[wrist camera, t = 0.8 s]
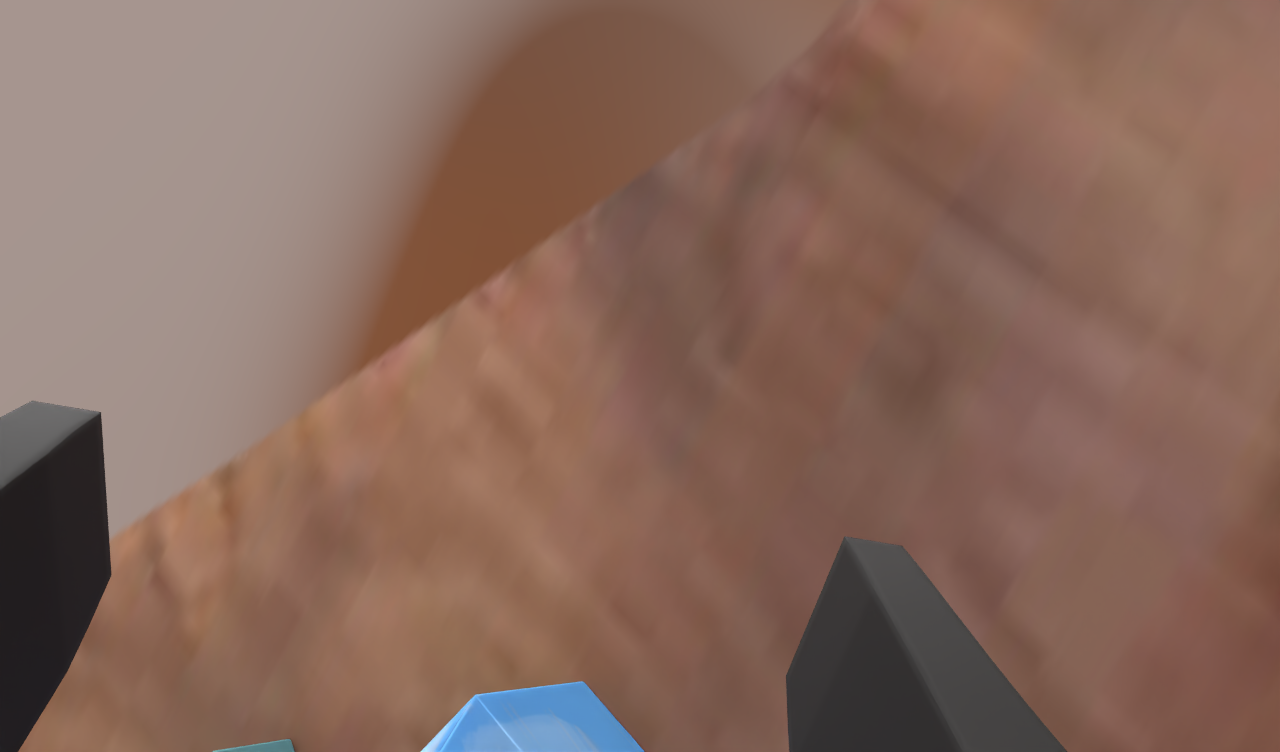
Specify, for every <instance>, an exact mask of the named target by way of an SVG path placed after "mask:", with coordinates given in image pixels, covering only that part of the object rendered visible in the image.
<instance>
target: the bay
mask: <svg viewBox="0 0 1280 752" xmlns="http://www.w3.org/2000/svg"><path fill="white" fill-rule="evenodd" d="M213 752H295V751H294V748H293V745H292V742H291V740H290V739H286V740H279V741H273V742H267V743H260V744H254V745H248V746H241V747H235V748H229V749H223V750H216V751H213Z"/></svg>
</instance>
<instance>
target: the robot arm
mask: <svg viewBox="0 0 1280 752" xmlns="http://www.w3.org/2000/svg"><path fill="white" fill-rule="evenodd" d="M101 423H102V422H101V412H96V411H90V410H84V409H78V408H72V407H66V406H60V405H54V404H48V403H42V402H36V401H31V402H29V403H27V404H25V405H23V406H21V407H19V408H18V409H15V410H13V411H12V412H10V413H8V414H6V415H4V416H2V417H0V752H18V751H19V749H20V747H21V746H22V744H23V743H24V741H25V739H26V738H27V736H28V735H29V733H30V731H31V730H32V728H33V726H34V725H35V723H36V722H37V720H38V718H39V717H40V715H41V713H42V712H43V710H44V709H45V707H46V705H47V704H48V702H49V701H50V699H51V697H52V696H53V694H54V692H55V691H56V689H57V687H58V686H59V684H60V682H61V681H62V679H63V677H64V676H65V674H66V673H67V671H68V669H69V667H70V665H71V662H72V660H73V658H74V656H75V654H76V652H77V650H78V648H79V646H80V643H81V641H82V639H83V637H84V635H85V633H86V631H87V629H88V627H89V624H90V622H91V620H92V618H93V615H94V613H95V611H96V609H97V606H98V604H99V602H100V599H101V597H102V595H103V593H104V590H105V588H106V586H107V584H108V581H109V579H110V577H111V562H110V546H109V531H108V515H107V500H106V485H105V469H104V453H103V437H102V424H101ZM786 686H787V713H788V735H789V750H790V752H1067V751H1066V750H1065V749H1064V747H1063V746H1062V745H1061V744H1060V743H1059V742H1058V740H1057V739H1056V738H1055V737H1054V736H1053V734H1052V733H1051V732H1050V731H1049V730H1048V729H1047V727H1046V726H1045V725H1044V724H1043V723H1042V721H1041V720H1040V719H1039V718H1038V717H1037V715H1036V714H1035V713H1034V712H1033V711H1032V709H1031V708H1030V707H1029V706H1028V704H1027V703H1026V702H1025V701H1024V700H1023V698H1022V697H1021V696H1020V695H1019V693H1018V692H1017V691H1016V690H1015V688H1014V687H1013V686H1012V685H1011V683H1010V682H1009V681H1008V680H1007V678H1006V677H1005V676H1004V675H1003V673H1002V672H1001V671H1000V670H999V668H998V667H997V666H996V665H995V663H994V662H993V661H992V660H991V658H990V657H989V656H988V654H987V653H986V652H985V651H984V649H983V648H982V647H981V646H980V644H979V643H978V642H977V640H976V639H975V638H974V637H973V635H972V634H971V633H970V631H969V630H968V629H967V627H966V626H965V625H964V624H963V622H962V621H961V620H960V618H959V617H958V616H957V615H956V613H955V612H954V611H953V609H952V608H951V607H950V605H949V604H948V603H947V602H946V600H945V599H944V598H943V596H942V595H941V594H940V593H939V591H938V590H937V589H936V587H935V586H934V585H933V584H932V582H931V581H930V580H929V578H928V577H927V576H926V575H925V573H924V572H923V571H922V570H921V568H920V567H919V566H918V565H917V563H916V562H915V561H914V560H913V558H912V557H911V556H910V555H909V554H908V552H907V551H906V550H905V549H904V548H903V546H899V545H893V544H887V543H881V542H875V541H869V540H863V539H857V538H851V537H845V536H844V539H843V541H842V544H841V546H840V548H839V551H838V553H837V556H836V558H835V560H834V563H833V565H832V567H831V570H830V572H829V575H828V577H827V579H826V582H825V584H824V587H823V589H822V591H821V594H820V596H819V599H818V601H817V603H816V606H815V608H814V610H813V613H812V615H811V618H810V620H809V622H808V625H807V627H806V630H805V632H804V634H803V637H802V639H801V641H800V644H799V646H798V649H797V651H796V653H795V656H794V658H793V661H792V663H791V665H790V668H789V670H788V673H787V675H786Z"/></svg>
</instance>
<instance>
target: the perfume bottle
mask: <svg viewBox="0 0 1280 752" xmlns="http://www.w3.org/2000/svg"><path fill="white" fill-rule="evenodd" d="M421 752H644V750H643V749H642V748H641V747H640V746H639V745H638V744H637V742H636V741H635V740H634V739H633V738H632V737H631V736H630V734H629V733H628V732H627V731H626V730H625V729H624V728H623V726H622V725H621V724H620V723H619V722H618V721H617V720H616V718H615V717H614V716H613V715H612V714H611V713H610V711H609V710H608V709H607V708H606V707H605V706H604V705H603V703H602V702H601V701H600V700H599V699H598V698H597V697H596V695H595V694H594V693H593V692H592V691H591V690H590V689H589V687H588V686H587V685H586V684H585V683H584V682H583V681H582V682H574V683H566V684H558V685H550V686H542V687H534V688H526V689H518V690H510V691H502V692H493V693H485V694H477V695H475V696H474V697H473V698H472V699H471V700H470V701H469V702H468V703H467V704H466V705H465V706H464V707H463V708H462V709H461V710H460V711H459V712H458V713H457V714H456V715H455V717H454V718H453V719H452V720H451V721H450V722H449V723H448V724H447V725H446V726H445V727H444V728H443V729H442V730H441V731H440V732H439V733H438V734H437V735H436V736H435V737H434V738H433V740H432V741H431V742H430V743H429V744H428V745H427V746H426V747H425V748H424V749H423V750H422V751H421Z"/></svg>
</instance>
